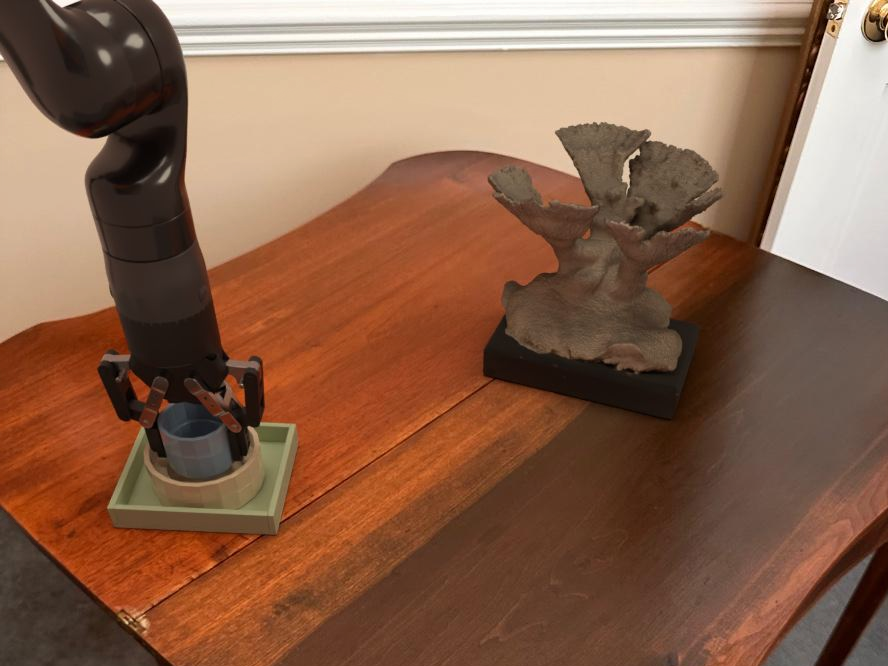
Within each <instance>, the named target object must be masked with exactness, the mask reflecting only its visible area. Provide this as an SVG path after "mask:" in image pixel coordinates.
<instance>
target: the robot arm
mask: <svg viewBox="0 0 888 666" xmlns="http://www.w3.org/2000/svg"><path fill="white" fill-rule="evenodd" d="M177 35H178V34H177V33H176V31H175V29H174V27H173V24H172V23H171V22H170V19H169V18H168V17H167V15H166V14H165V13H164V11H163V10H162V8H161V7H160V6H159V5H158V4H157V3H156V1H154V0H77V1H75V2H72V3H70V4H67V5H65V6H61V5H59V4H58V3H56V2H55V1H54V0H0V56H1V57H2V59H3V60H4V62H5V63H6V65H7V67H8V68H9V69H10V72H12V74H13V76H14V77H15V79H16V81H17V83H18V84H19V86H20V87H21V89H22V90H23V92H24V93H25V95H26V96H27V98H28V99H29V100H30V101H31V103H32V104H33V105H34V107H36V109H37V110H38V111H39V112H40V113H41V114H42V115H43V116H44V117H45V118H46V119H47V120H49V121H50V122H52V123H53V124H54V125H56V126H57V127H59V128H60V129H62V130H64V131H66V132H67V133H70V134H71V135H74V136H77V137H80V138H83V139H89V140H97V139H101V138H105V137H106V141H105V143H104V144H103V147H102V148H101V149H100V151H99V152H98V153H97V154H96V156H94V158H93V159H92V160H91V162H89V164H88V166H87V168H86V169H85V173H84V181H83V182H84V190H85V193H86V198H87V202H88V205H89V209H90V212H91V217H92V219H93V223H94V227H95V229H96V232H97V235H98V239H99V242H100V243H99V244H100V247H101V250H102V254H103V261H104V268H105V274H106V278H107V282H108V289H109V294H110V297H112V299H113V301H114V306H115V309H116V312H117V314H118V320H119V322H120V325H121V329H122V333H123V337H124V339H125V343H126V345H127V349H128V351H129V353H130V354H120V353H119V352H118V351H117V350H115V349H113V348H109V349H107V350H105V353H104V355H103V356H102V358H101V360H100V362H99V364H98V366H97V369H96V371H97V373H98V375H99V378H100V380H101V382H102V384H103V387H104V389H105V391H106V394H107V396H108V398H109V400H110V403H111V405H112V407H113V409H114V411H115V414H116V415H117V418H118V419H119V420H120V421H122V422H125V423H128V422H130V421H135V422H137V423H138V424H139V425H140V427H144V429H145V433H146V436H147V439H148V442H149V446H150V448H151V449H152V451H153V452H157V454H158V457H159V458H167V455H166V452H165V448H164V445H163V441H162V438H161V434H160V431H159V427H158V423H157V419H158V417H159V414H160V409H161V406H162V404H163V401H164V400H165V401H167V404H170V403H175V404H177V403H183V402H187V403H191V404H195V405H204V406H205V407H206V408H207V409H208V411H209V412H210V413H211V414H212V415H213V416H214V417H216V416H218V417H219V418H220V419H221V421H222V422H223V423H224V424H225V425H226V426H227V427H228V432H227V433H228V437H229V442H230V446H231V451H232V456H233V460H234V461H241V462H242V460H243V457H244V456H247V453H248V450H249V447H250V443H251V441H250V436H249V431H248V426H250V427H253V428H257V427H259V426H260V423H261V422H262V419H263V415H264V412H265V409H266V402H265V381H264V364H263V360H262V358H261V357H260V356H258V355H251V356H250V357H249V358H248V360H239V359H231V358H230V356H229V355H228V354H227V352H226V351H225V349H224V348H223V346H222V340H221V334H220V329H219V325H218V324H219V323H218V318H217V313H216V308H215V304H214V299H213V294H212V289H211V284H210V279H209V274H208V269H207V264H206V261H205V257H204V254H203V251H202V248H201V246H200V242H199V240H198V237H197V232H196V227H195V222H194V218H193V217H194V216H193V212H192V207H191V202H190V198H189V193H188V189H187V185H186V167H187V157H188V128H189V127H188V126H189V79H188V70H187V64H186V60H185V56H184V51H183V48H182V46H181V43H180V40H179V37H178V36H177ZM131 372H132V373H133V374H134V376H136V377H137V378H138V379H139V380H140V381H141V382H143V383H144V384H145V386H147V387H148V388H149V389H150V390H149V393H148V395H147V398H146V401H141V400H139V398H138V396H137V393H136V391H135V389H134V386H133V383H132V381H131V379H130V377H129V376H130V373H131ZM228 376H232V377H233V378H234V379H235V380H236V384H237V385H238V388H240V389H241V390H243V392H244V405H243V404H242V403H241V402H240V400H239V399H238V398H237V396H236V395H235V393H234V389H233V387H232V386H231V385H230V384H229V382H228V381H227V380H226V379H227V377H228Z"/></svg>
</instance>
